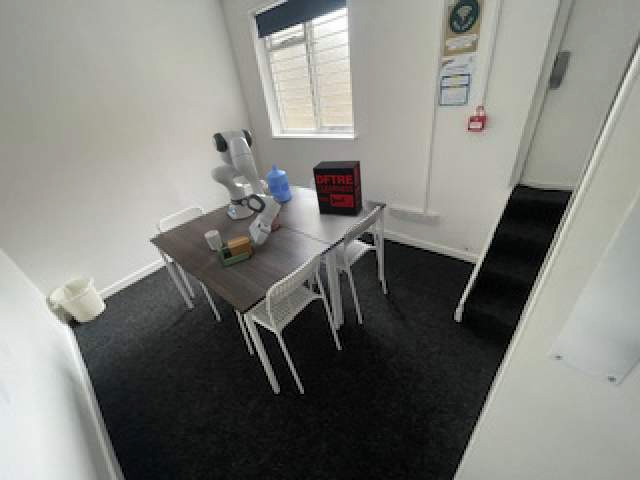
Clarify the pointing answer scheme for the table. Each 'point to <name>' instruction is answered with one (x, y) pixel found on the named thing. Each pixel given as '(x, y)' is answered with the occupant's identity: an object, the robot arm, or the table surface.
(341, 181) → the product box
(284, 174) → the water jug
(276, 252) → the table surface
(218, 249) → the stand
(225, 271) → the table surface
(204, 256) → the table surface
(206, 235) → the white cup
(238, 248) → the parcel
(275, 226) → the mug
